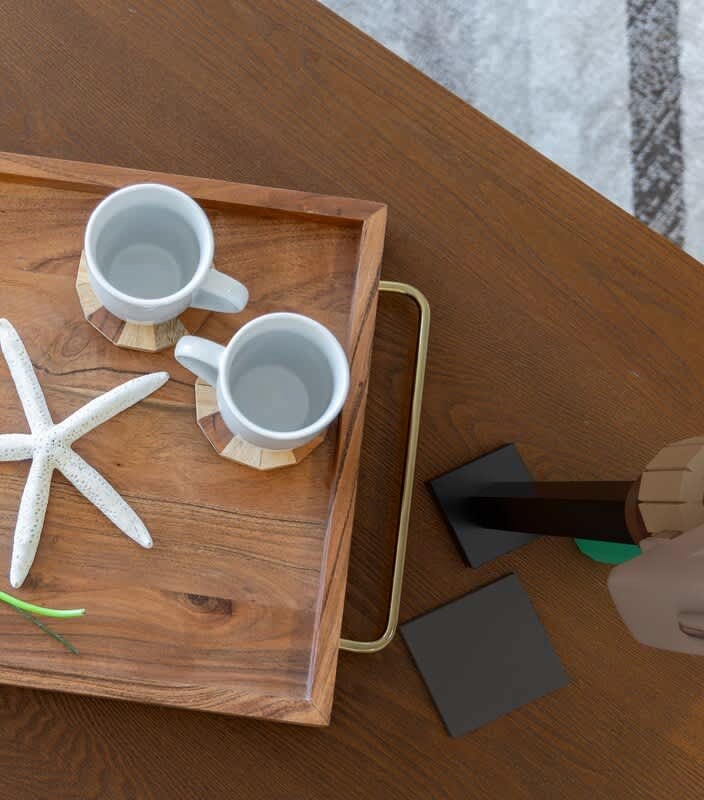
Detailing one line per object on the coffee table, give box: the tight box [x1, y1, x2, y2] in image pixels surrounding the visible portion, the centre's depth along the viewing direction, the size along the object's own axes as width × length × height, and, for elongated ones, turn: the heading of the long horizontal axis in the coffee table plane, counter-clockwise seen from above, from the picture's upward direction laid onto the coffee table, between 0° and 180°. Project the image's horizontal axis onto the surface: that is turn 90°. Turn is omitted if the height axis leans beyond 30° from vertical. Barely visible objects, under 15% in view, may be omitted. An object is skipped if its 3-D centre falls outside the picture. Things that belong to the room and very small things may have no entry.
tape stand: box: [423, 442, 704, 570], centre depth 60 cm, size 8×8×31 cm
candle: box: [573, 538, 643, 565], centre depth 69 cm, size 6×6×12 cm
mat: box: [397, 571, 571, 740], centre depth 74 cm, size 10×11×1 cm
